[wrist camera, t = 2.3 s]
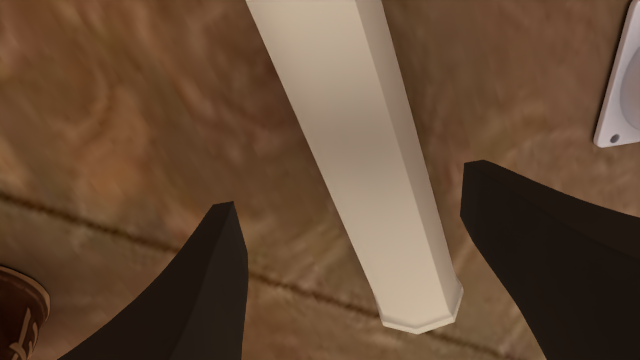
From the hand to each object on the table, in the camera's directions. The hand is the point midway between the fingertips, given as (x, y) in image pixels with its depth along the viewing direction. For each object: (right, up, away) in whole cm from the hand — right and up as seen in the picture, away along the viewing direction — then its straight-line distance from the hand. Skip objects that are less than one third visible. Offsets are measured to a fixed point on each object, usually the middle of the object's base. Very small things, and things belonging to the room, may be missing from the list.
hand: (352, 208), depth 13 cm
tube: (0, +5, +8) cm, 9 cm away
